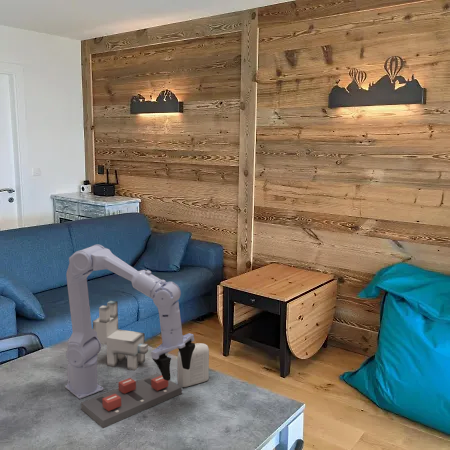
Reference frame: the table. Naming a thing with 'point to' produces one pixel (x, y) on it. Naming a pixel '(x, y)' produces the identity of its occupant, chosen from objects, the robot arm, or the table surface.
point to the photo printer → (194, 367)
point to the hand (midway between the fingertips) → (176, 373)
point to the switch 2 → (127, 385)
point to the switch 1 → (111, 402)
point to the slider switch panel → (129, 401)
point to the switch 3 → (159, 383)
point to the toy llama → (119, 338)
